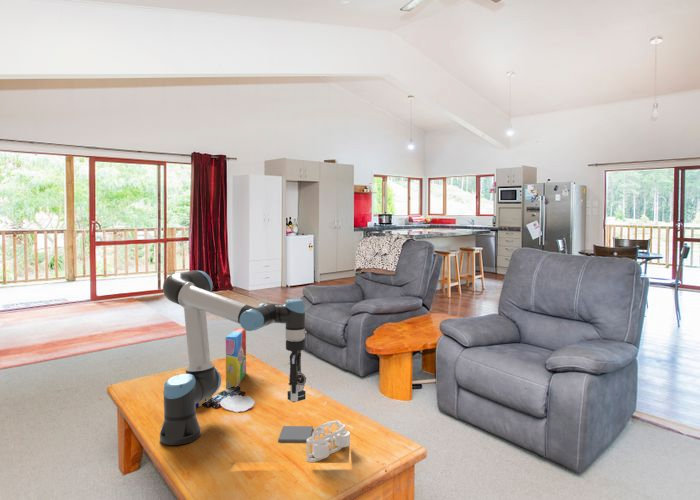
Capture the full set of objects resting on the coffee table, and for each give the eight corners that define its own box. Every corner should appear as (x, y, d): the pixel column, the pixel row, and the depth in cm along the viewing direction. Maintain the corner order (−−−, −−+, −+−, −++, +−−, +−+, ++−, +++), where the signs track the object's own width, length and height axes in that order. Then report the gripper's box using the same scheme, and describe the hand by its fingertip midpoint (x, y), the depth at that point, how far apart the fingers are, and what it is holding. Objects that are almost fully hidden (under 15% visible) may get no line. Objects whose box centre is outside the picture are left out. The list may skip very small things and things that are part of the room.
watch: (296, 403, 175) (296, 375, 175) (285, 397, 181) (285, 370, 181) (308, 400, 179) (308, 372, 178) (297, 394, 185) (297, 367, 184)
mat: (278, 441, 174) (278, 439, 174) (283, 428, 186) (283, 426, 186) (309, 442, 174) (309, 439, 174) (312, 428, 186) (312, 426, 186)
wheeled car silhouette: (317, 466, 156) (317, 445, 156) (296, 456, 164) (295, 436, 163) (356, 446, 171) (356, 426, 171) (334, 437, 179) (334, 418, 178)
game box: (236, 390, 231) (235, 337, 230) (225, 390, 231) (225, 337, 230) (246, 377, 252) (245, 328, 251) (236, 377, 252) (235, 328, 251)
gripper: (301, 345, 169) (302, 407, 169) (307, 333, 189) (308, 388, 190) (281, 345, 169) (281, 407, 170) (289, 333, 189) (289, 388, 190)
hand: (295, 397), depth 180 cm, fingers closed on watch, 8 cm apart
